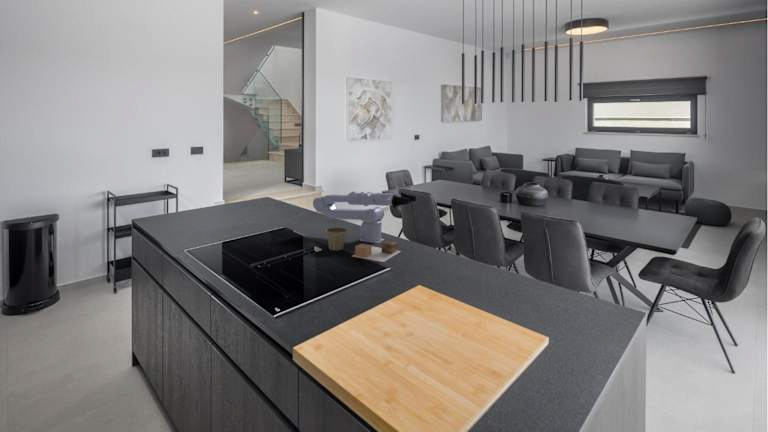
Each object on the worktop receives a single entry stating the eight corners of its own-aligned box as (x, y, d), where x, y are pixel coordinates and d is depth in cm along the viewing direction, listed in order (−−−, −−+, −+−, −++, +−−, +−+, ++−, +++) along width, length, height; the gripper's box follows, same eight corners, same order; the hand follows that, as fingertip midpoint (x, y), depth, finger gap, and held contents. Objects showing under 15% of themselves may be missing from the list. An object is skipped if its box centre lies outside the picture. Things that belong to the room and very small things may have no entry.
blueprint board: (351, 257, 178) (351, 256, 178) (370, 247, 193) (370, 246, 193) (383, 263, 171) (383, 262, 171) (401, 252, 186) (401, 251, 186)
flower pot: (348, 246, 193) (348, 228, 191) (344, 252, 183) (344, 233, 182) (328, 245, 193) (328, 226, 192) (323, 251, 184) (323, 232, 182)
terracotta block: (355, 255, 179) (355, 246, 178) (361, 252, 183) (361, 243, 182) (365, 257, 176) (365, 248, 176) (371, 254, 181) (371, 245, 180)
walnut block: (381, 252, 184) (381, 243, 183) (386, 249, 188) (386, 240, 187) (392, 254, 182) (392, 245, 181) (396, 251, 186) (397, 242, 185)
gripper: (377, 192, 189) (405, 193, 183) (391, 188, 201) (418, 188, 195) (378, 208, 190) (406, 209, 184) (392, 203, 203) (418, 204, 197)
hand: (412, 199), depth 190 cm, fingers open, 7 cm apart
